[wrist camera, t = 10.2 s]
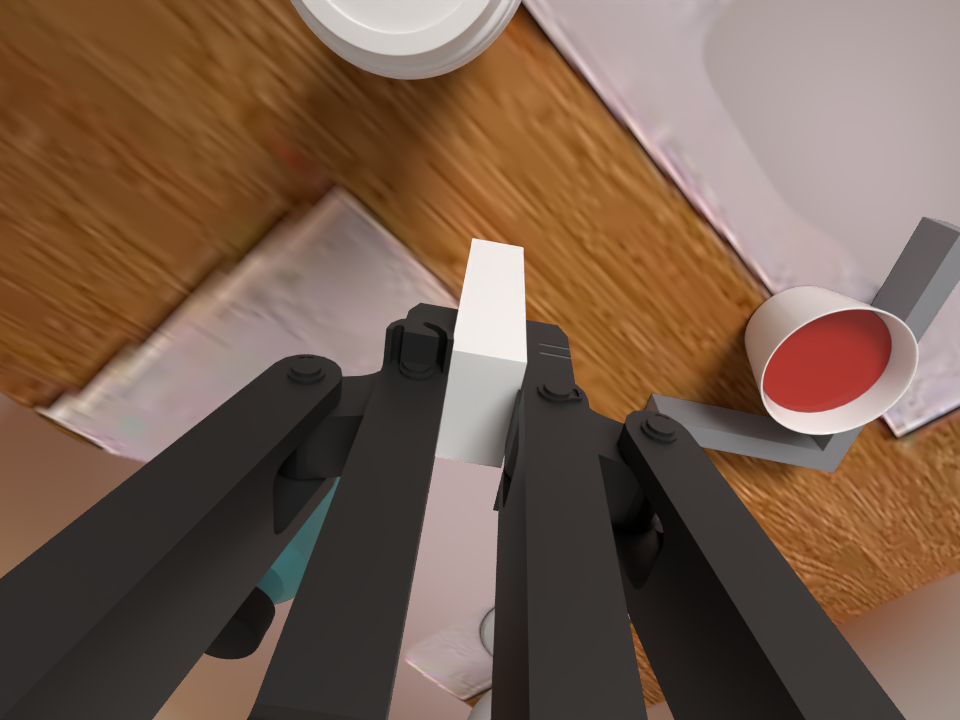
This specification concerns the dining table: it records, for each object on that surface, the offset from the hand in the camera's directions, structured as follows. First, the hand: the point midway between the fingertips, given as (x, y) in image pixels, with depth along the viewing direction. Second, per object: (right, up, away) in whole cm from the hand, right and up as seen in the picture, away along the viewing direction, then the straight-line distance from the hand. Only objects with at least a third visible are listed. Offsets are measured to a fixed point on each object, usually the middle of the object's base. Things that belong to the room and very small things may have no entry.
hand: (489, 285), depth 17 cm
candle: (+22, 0, +23) cm, 32 cm away
